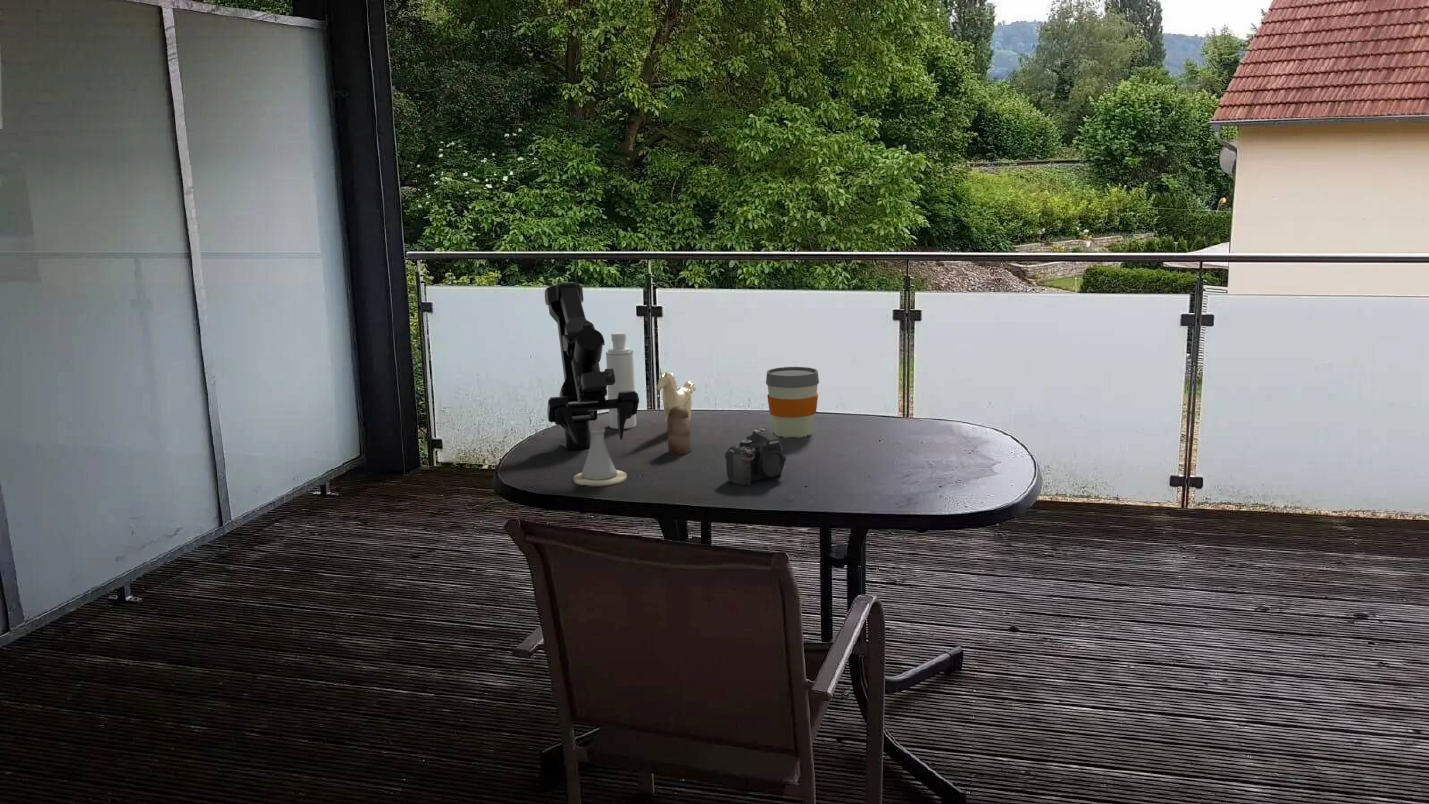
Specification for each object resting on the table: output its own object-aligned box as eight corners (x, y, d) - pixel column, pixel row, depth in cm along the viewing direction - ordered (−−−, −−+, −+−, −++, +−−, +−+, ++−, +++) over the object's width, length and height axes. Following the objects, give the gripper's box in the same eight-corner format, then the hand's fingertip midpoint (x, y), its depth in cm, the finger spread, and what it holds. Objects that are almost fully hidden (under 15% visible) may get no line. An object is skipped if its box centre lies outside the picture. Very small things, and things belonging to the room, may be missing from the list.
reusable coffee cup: (828, 430, 274) (828, 368, 271) (804, 441, 264) (803, 377, 261) (783, 425, 281) (781, 365, 278) (757, 436, 271) (755, 373, 268)
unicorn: (688, 421, 289) (685, 354, 285) (702, 422, 287) (700, 354, 284) (652, 439, 271) (649, 368, 267) (667, 440, 269) (664, 368, 266)
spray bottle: (635, 428, 282) (630, 328, 277) (608, 429, 282) (603, 328, 277) (637, 422, 289) (633, 324, 284) (610, 423, 289) (606, 325, 284)
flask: (595, 482, 233) (593, 435, 230) (575, 476, 238) (572, 429, 236) (624, 475, 237) (621, 428, 235) (603, 469, 243) (600, 423, 240)
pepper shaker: (665, 450, 260) (663, 405, 258) (686, 447, 262) (685, 403, 259) (672, 455, 255) (670, 409, 253) (693, 452, 257) (691, 407, 255)
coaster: (568, 475, 241) (568, 472, 241) (619, 469, 244) (619, 467, 244) (580, 488, 231) (580, 486, 231) (632, 482, 234) (632, 479, 234)
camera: (762, 489, 227) (761, 440, 225) (720, 483, 232) (719, 435, 230) (796, 473, 237) (795, 427, 235) (756, 467, 243) (755, 422, 241)
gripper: (545, 359, 234) (555, 423, 226) (635, 352, 238) (648, 415, 230) (543, 390, 243) (553, 452, 235) (629, 383, 248) (642, 444, 239)
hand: (599, 440), depth 234 cm, fingers open, 9 cm apart
